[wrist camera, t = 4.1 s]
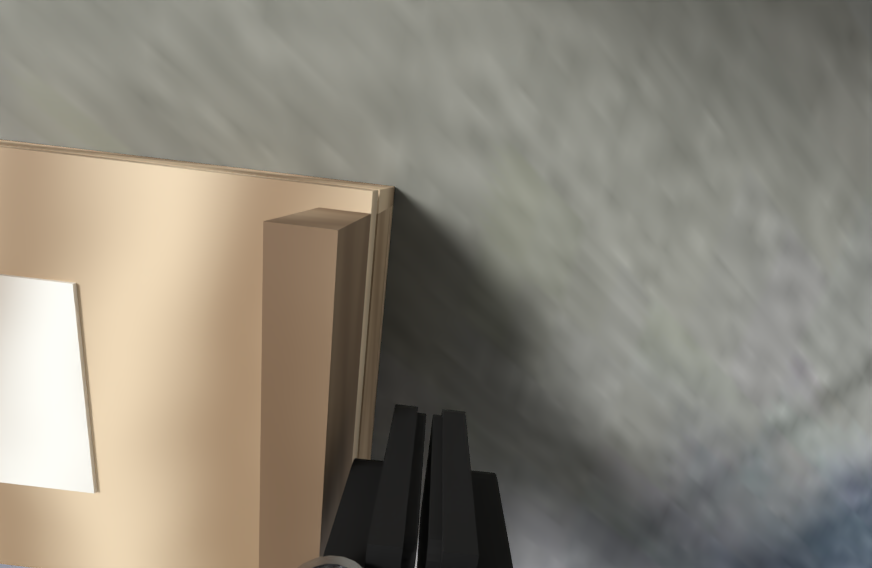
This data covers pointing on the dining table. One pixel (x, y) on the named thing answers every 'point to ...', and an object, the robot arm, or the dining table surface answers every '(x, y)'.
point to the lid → (176, 362)
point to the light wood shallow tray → (376, 279)
